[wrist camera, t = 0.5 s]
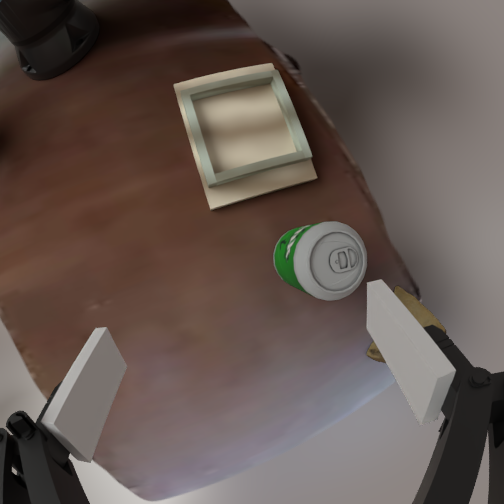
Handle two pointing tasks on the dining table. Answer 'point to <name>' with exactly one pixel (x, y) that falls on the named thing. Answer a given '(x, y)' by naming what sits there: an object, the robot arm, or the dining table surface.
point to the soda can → (322, 259)
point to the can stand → (244, 134)
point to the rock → (416, 310)
